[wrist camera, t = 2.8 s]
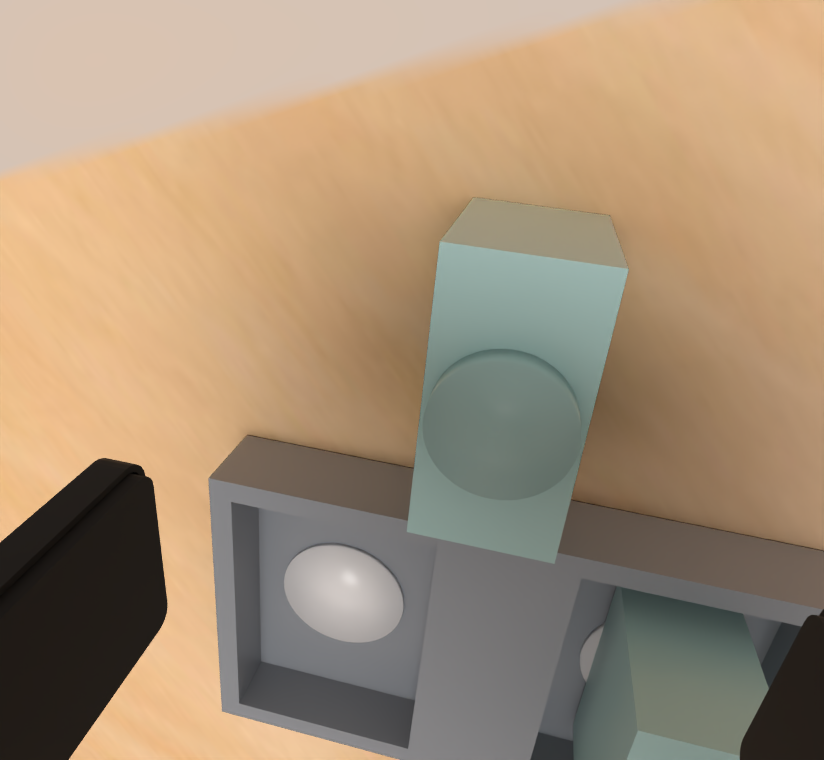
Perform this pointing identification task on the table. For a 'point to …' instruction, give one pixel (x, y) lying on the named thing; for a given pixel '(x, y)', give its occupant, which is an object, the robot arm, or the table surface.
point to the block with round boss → (513, 373)
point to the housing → (489, 622)
